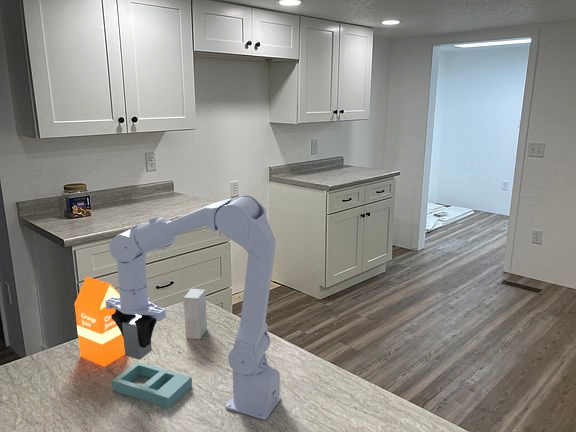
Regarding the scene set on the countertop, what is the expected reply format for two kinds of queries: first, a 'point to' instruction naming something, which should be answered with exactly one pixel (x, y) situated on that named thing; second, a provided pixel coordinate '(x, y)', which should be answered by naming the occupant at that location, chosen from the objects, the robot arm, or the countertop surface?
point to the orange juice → (97, 323)
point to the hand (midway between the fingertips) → (137, 343)
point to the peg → (133, 339)
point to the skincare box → (195, 313)
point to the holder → (153, 384)
